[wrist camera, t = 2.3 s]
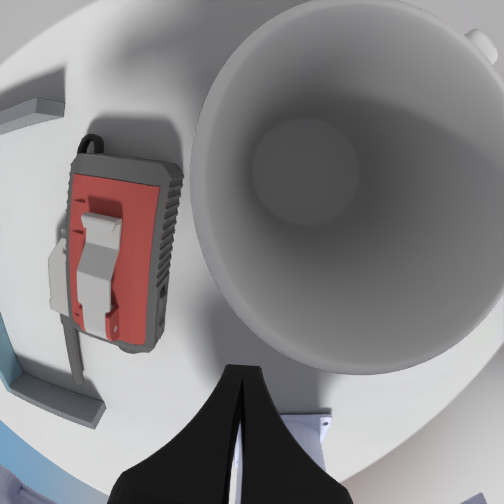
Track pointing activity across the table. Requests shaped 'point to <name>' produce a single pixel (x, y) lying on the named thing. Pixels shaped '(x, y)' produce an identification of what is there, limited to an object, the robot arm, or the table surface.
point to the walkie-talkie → (114, 250)
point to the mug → (354, 184)
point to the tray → (3, 357)
